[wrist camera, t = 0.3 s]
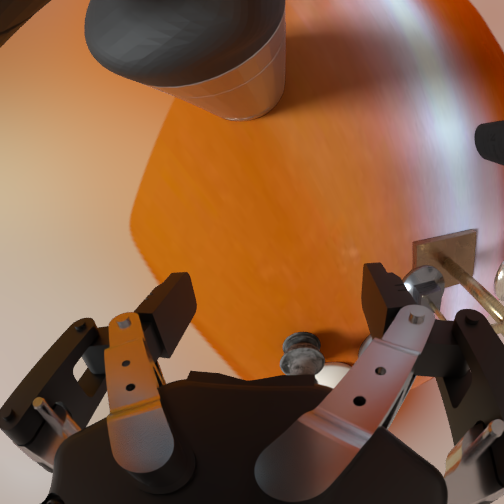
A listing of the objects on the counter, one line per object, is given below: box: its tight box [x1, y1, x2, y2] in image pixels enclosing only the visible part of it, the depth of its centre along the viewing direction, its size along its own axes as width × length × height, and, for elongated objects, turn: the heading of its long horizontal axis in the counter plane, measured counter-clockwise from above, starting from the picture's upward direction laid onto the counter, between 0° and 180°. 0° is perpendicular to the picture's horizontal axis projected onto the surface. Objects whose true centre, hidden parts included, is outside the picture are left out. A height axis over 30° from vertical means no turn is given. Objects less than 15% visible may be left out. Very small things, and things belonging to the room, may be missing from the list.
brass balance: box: [402, 229, 504, 336], centre depth 21 cm, size 7×19×17 cm, turn 104°
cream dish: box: [315, 362, 351, 389], centre depth 38 cm, size 10×10×1 cm
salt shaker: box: [280, 332, 325, 384], centre depth 30 cm, size 6×6×12 cm
